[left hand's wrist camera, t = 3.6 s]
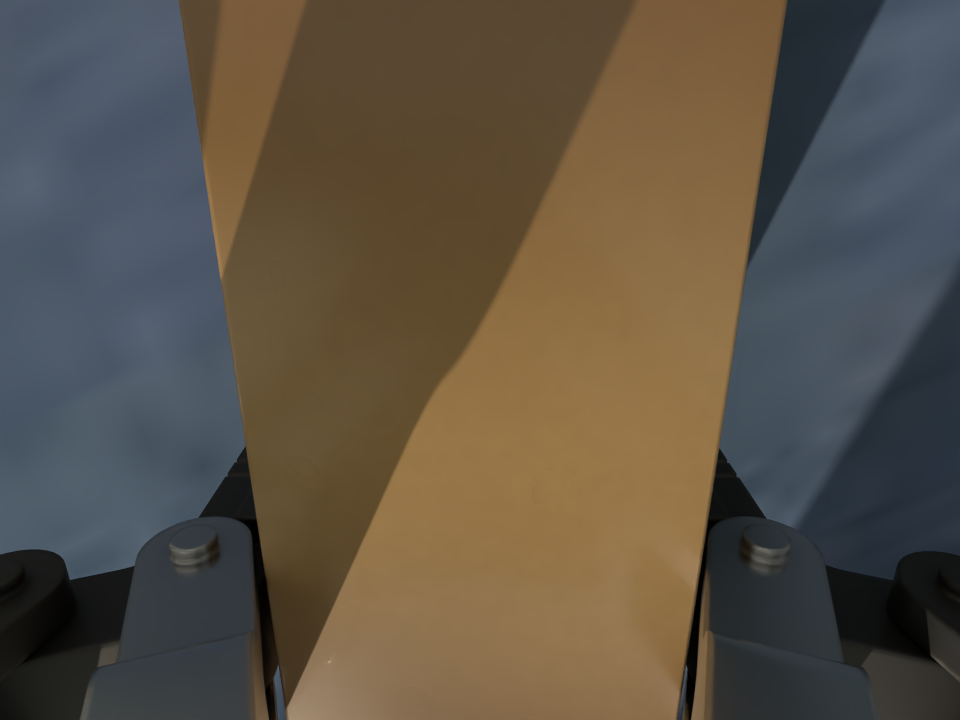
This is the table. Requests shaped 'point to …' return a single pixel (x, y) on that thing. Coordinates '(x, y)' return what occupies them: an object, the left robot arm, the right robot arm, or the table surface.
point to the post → (482, 333)
